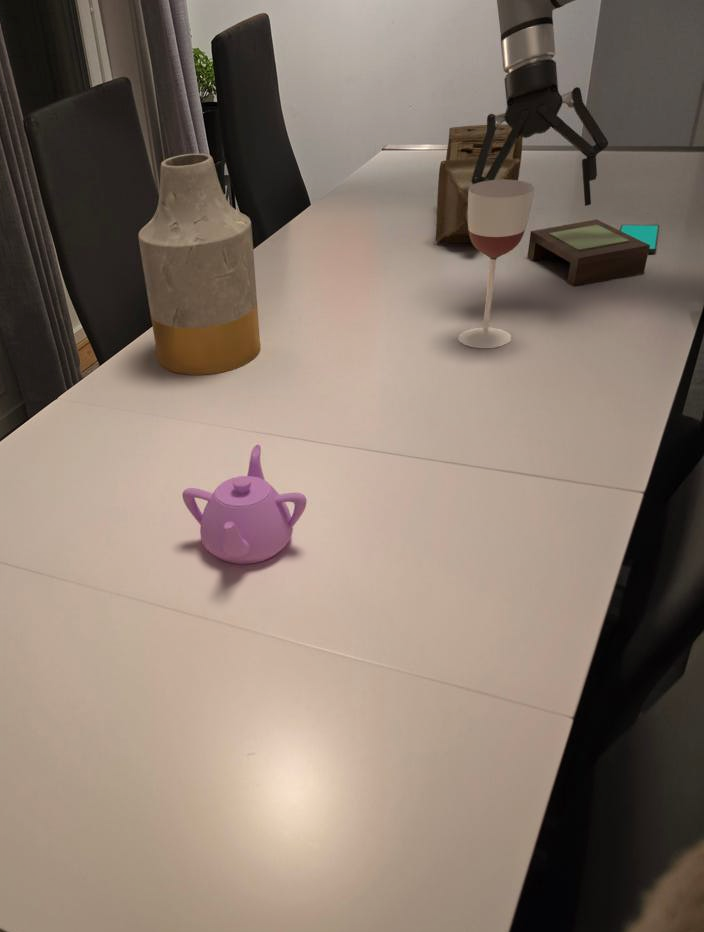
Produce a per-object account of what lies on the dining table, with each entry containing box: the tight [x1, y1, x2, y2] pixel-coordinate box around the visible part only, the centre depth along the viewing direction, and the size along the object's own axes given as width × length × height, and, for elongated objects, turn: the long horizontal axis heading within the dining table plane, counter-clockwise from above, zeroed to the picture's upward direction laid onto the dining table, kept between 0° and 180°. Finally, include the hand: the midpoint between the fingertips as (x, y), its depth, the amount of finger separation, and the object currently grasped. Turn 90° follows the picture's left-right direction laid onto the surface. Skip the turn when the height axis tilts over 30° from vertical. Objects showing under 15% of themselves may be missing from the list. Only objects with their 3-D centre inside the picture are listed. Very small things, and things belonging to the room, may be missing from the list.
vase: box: [138, 153, 261, 376], centre depth 138 cm, size 18×18×30 cm
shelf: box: [526, 219, 650, 287], centre depth 159 cm, size 18×14×5 cm
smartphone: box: [619, 224, 660, 254], centre depth 167 cm, size 7×1×15 cm
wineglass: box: [458, 179, 535, 349], centre depth 134 cm, size 9×10×23 cm
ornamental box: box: [435, 123, 523, 245], centre depth 176 cm, size 35×18×18 cm, turn 164°
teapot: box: [181, 444, 307, 565], centre depth 101 cm, size 12×14×9 cm
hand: (542, 216), depth 135 cm, fingers open, 13 cm apart
